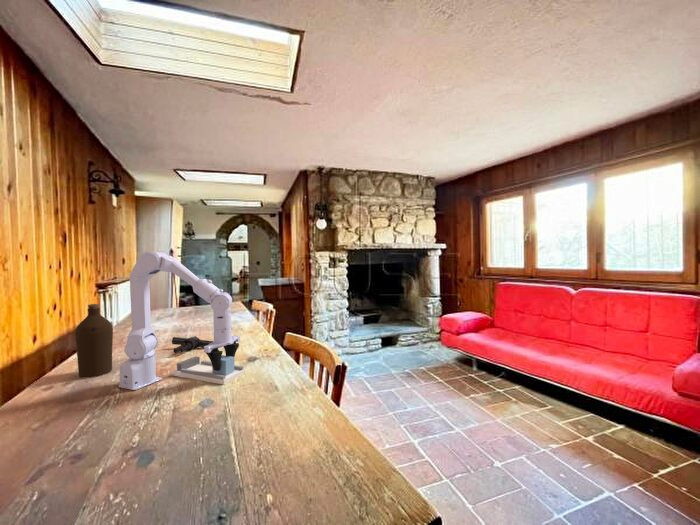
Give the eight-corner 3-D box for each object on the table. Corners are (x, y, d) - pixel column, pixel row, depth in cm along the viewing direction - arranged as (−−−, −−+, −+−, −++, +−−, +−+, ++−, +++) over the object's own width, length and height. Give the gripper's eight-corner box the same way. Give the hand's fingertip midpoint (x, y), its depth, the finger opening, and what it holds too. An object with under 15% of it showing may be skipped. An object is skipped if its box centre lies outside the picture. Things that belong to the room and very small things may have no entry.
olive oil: (120, 369, 116) (118, 302, 115) (88, 380, 106) (85, 307, 105) (102, 366, 120) (100, 301, 119) (69, 376, 110) (67, 305, 109)
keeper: (226, 375, 105) (225, 360, 105) (212, 373, 107) (212, 358, 107) (234, 371, 109) (234, 356, 108) (221, 368, 111) (220, 355, 111)
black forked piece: (202, 347, 130) (218, 337, 145) (156, 342, 130) (177, 333, 145) (201, 359, 130) (217, 348, 145) (155, 354, 130) (176, 344, 145)
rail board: (224, 384, 101) (223, 372, 101) (173, 375, 110) (173, 364, 110) (245, 373, 111) (244, 362, 111) (196, 365, 119) (196, 355, 119)
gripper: (215, 334, 99) (216, 376, 100) (246, 324, 113) (246, 361, 113) (198, 332, 102) (199, 373, 102) (230, 323, 115) (231, 359, 116)
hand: (223, 367), depth 108 cm, fingers open, 5 cm apart
